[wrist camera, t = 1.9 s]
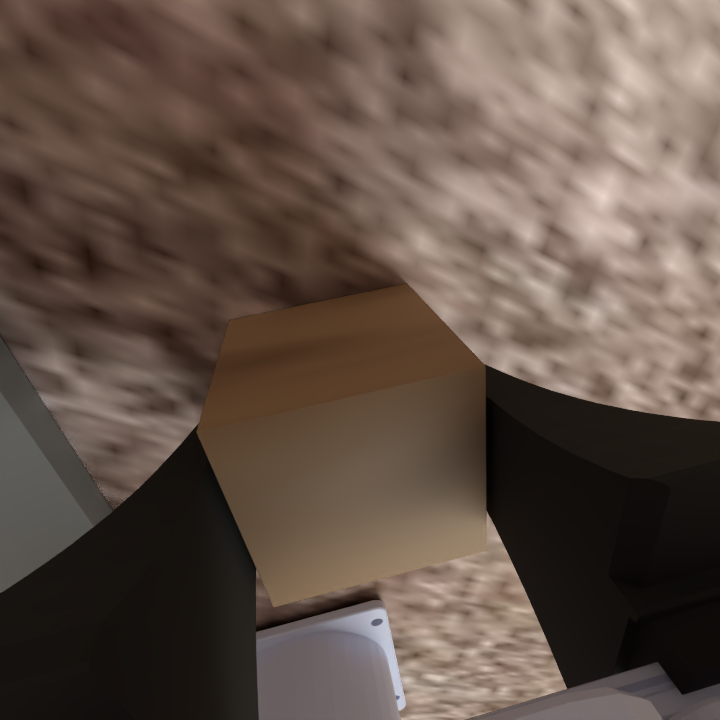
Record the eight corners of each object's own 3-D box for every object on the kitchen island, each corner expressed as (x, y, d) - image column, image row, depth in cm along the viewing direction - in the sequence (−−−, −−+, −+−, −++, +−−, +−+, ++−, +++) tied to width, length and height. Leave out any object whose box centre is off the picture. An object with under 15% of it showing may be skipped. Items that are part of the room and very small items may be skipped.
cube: (421, 424, 14) (486, 550, 9) (275, 458, 13) (273, 607, 9) (406, 283, 11) (485, 366, 7) (229, 320, 11) (196, 431, 7)
